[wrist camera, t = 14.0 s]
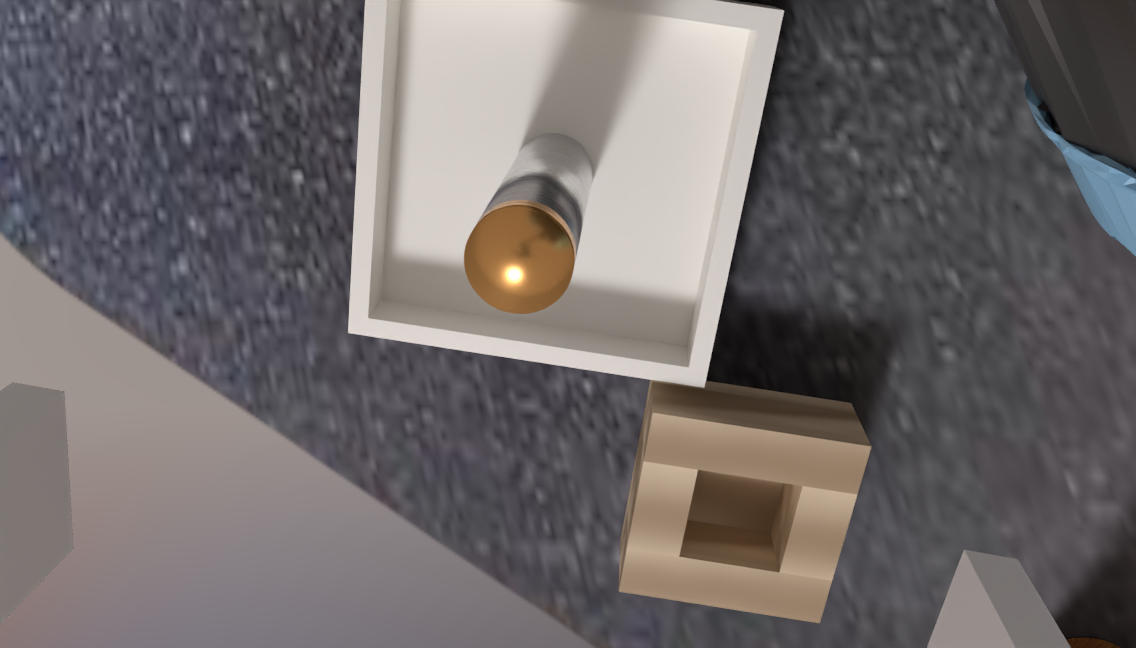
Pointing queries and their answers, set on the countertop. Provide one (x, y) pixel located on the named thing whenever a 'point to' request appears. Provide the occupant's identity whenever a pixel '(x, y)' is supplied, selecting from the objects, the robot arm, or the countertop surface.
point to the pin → (531, 227)
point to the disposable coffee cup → (1090, 643)
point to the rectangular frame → (613, 142)
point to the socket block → (741, 498)
